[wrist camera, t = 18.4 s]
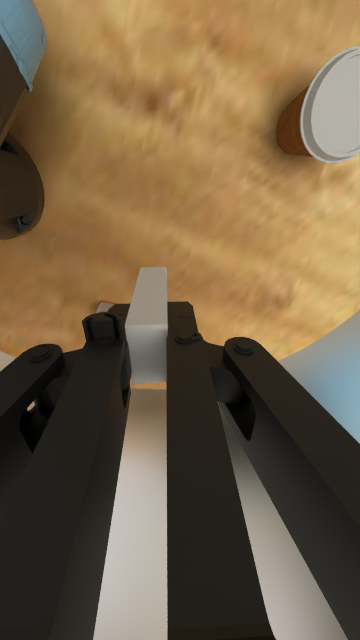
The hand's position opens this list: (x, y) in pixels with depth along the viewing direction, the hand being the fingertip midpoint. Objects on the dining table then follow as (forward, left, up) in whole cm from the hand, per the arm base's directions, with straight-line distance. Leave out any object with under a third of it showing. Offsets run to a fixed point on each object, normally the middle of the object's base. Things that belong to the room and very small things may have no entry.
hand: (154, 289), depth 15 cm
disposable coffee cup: (+20, +12, -30) cm, 38 cm away
